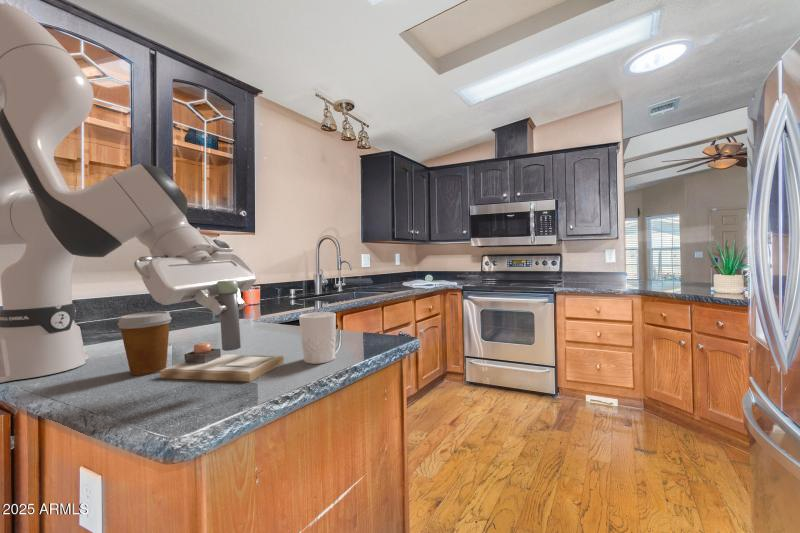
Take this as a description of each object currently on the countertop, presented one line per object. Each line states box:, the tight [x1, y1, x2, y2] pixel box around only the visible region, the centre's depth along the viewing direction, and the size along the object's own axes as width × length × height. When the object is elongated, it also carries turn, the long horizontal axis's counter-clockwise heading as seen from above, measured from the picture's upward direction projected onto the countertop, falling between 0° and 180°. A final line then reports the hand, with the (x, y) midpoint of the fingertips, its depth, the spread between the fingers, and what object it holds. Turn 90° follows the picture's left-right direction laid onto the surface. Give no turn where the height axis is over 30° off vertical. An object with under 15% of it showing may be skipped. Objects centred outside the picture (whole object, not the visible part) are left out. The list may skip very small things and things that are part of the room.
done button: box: [193, 342, 212, 354], centre depth 79 cm, size 3×3×2 cm
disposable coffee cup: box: [117, 310, 173, 376], centre depth 79 cm, size 10×10×12 cm
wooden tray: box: [159, 348, 285, 382], centre depth 77 cm, size 20×12×4 cm, turn 77°
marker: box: [217, 280, 242, 352], centre depth 66 cm, size 3×3×12 cm
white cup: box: [298, 311, 337, 365], centre depth 82 cm, size 8×8×10 cm
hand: (231, 309), depth 66 cm, fingers closed on marker, 3 cm apart
